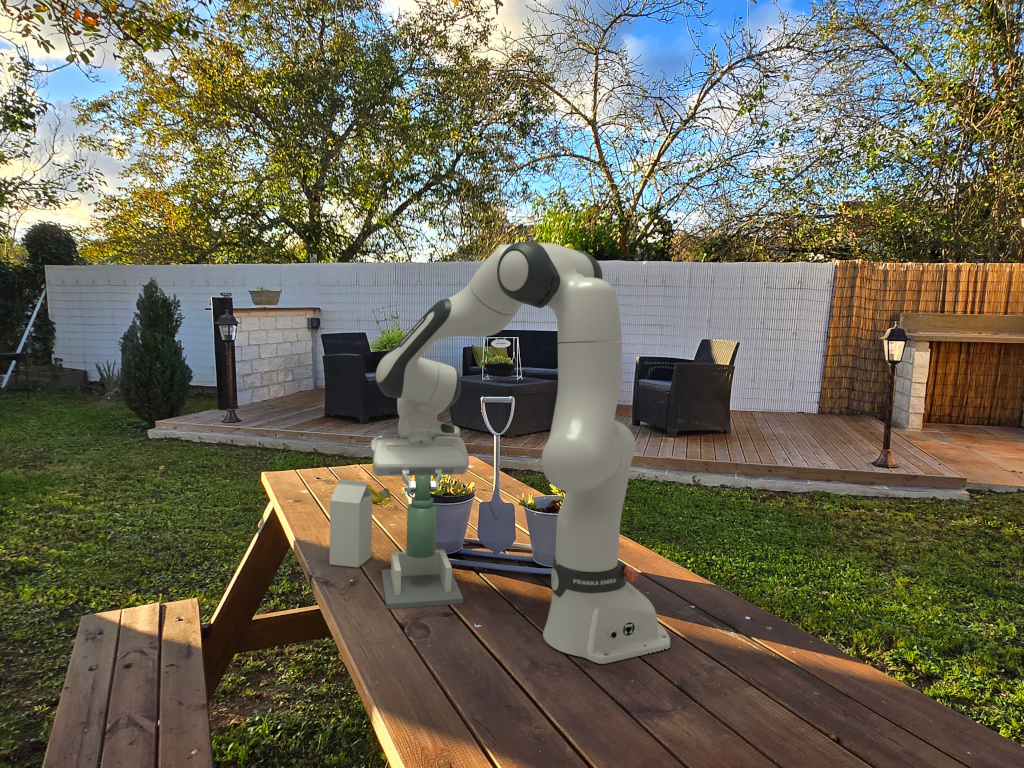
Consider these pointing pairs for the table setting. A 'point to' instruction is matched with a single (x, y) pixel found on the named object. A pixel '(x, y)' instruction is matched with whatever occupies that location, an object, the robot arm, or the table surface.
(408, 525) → the bottle
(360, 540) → the milk carton
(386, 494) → the sprinkler
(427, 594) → the bottle holder
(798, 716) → the table surface
